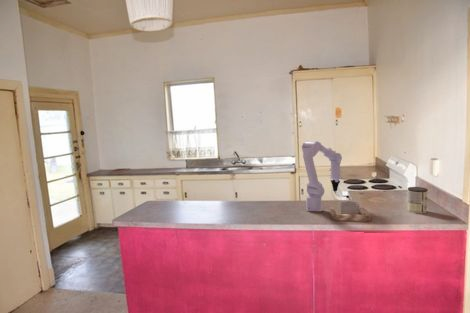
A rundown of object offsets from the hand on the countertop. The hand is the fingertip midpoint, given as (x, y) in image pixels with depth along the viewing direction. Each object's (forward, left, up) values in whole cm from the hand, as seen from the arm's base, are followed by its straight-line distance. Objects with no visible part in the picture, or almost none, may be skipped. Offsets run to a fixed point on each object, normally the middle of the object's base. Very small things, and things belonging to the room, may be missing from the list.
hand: (335, 190), depth 210 cm
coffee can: (+46, -13, -10) cm, 49 cm away
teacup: (+4, -25, -10) cm, 27 cm away
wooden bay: (+4, -26, -9) cm, 28 cm away
